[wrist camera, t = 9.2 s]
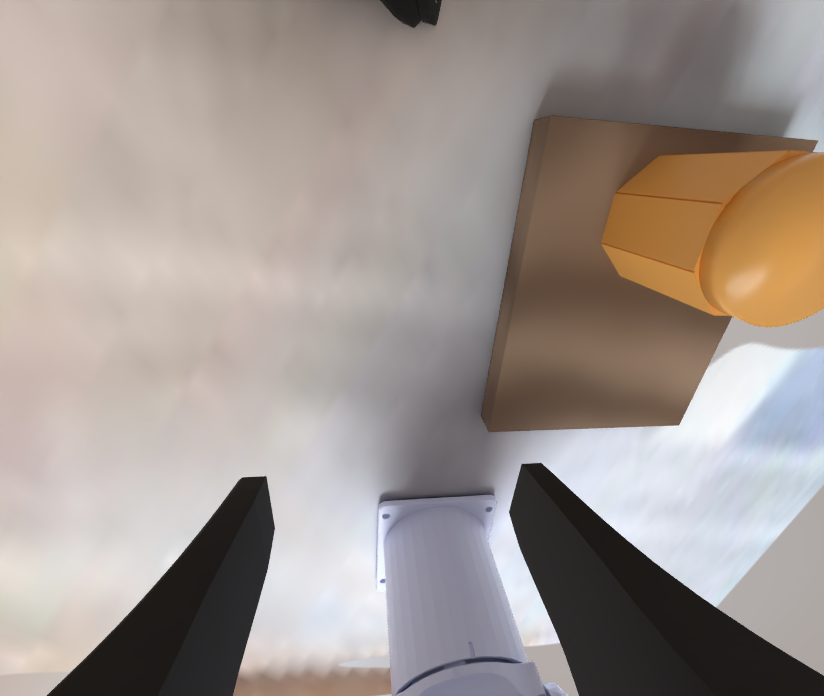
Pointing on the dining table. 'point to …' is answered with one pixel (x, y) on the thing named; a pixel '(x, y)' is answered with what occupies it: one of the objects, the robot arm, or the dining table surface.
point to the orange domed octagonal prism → (726, 233)
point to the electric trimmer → (414, 11)
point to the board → (595, 289)
